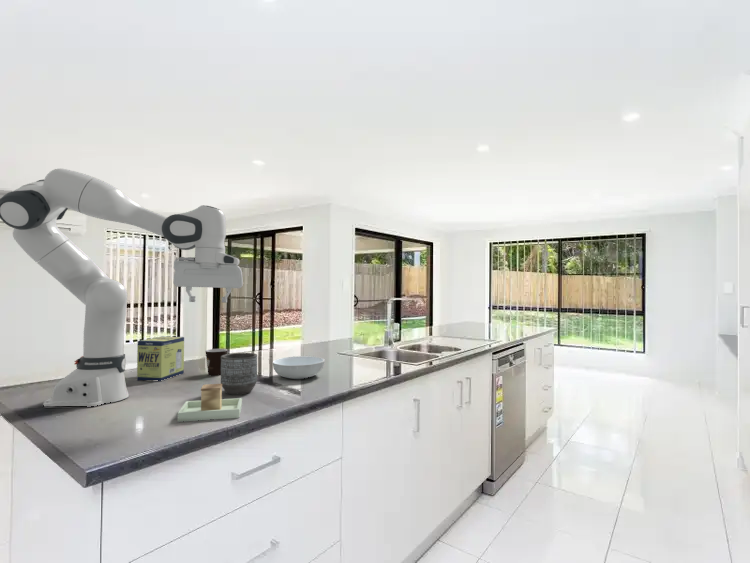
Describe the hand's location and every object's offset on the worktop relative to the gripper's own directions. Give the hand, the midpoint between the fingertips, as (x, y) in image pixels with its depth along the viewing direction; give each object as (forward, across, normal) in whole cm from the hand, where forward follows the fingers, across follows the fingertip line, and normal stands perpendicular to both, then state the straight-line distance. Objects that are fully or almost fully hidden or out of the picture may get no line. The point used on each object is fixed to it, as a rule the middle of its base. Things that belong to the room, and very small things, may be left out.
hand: (208, 302), depth 131 cm
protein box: (+32, -23, +46) cm, 61 cm away
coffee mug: (+32, -2, +45) cm, 55 cm away
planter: (+32, +9, +14) cm, 36 cm away
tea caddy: (+31, +3, -10) cm, 33 cm away
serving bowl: (+31, +31, +34) cm, 56 cm away
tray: (+32, +3, -10) cm, 34 cm away
